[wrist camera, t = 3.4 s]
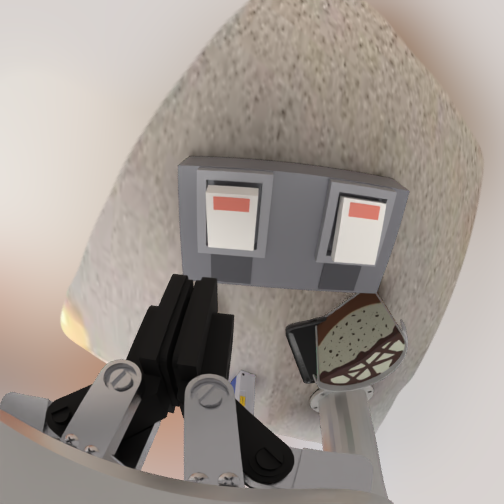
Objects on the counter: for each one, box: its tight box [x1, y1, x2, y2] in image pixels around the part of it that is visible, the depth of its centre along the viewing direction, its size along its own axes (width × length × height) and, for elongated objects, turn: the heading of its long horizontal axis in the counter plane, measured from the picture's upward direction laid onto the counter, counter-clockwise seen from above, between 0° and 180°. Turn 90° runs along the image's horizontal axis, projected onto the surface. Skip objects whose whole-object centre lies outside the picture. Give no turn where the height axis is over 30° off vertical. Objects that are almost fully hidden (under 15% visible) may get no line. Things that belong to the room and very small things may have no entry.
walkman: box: [230, 370, 255, 416], centre depth 40 cm, size 8×3×12 cm, turn 154°
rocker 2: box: [331, 196, 386, 265], centre depth 23 cm, size 6×4×1 cm
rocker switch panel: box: [178, 156, 409, 294], centre depth 27 cm, size 12×21×5 cm, turn 86°
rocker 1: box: [206, 185, 259, 251], centre depth 23 cm, size 6×4×1 cm
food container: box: [313, 293, 408, 392], centre depth 31 cm, size 12×6×10 cm, turn 137°
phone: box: [285, 316, 327, 384], centre depth 40 cm, size 8×1×15 cm
